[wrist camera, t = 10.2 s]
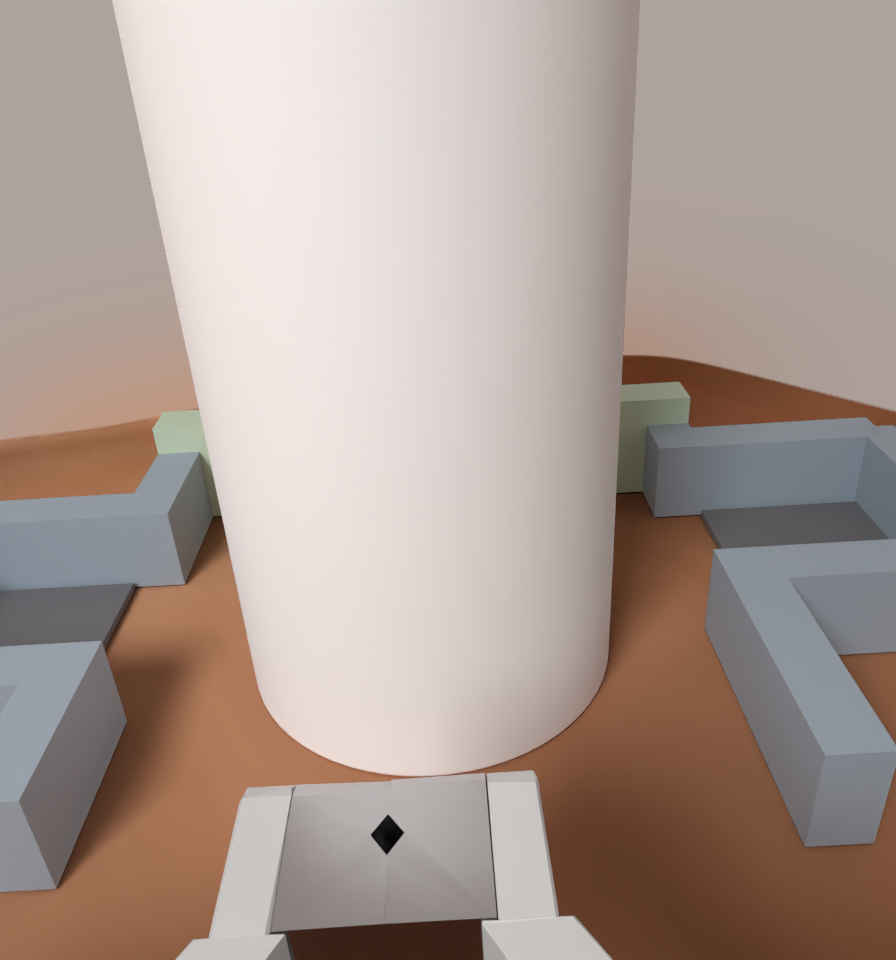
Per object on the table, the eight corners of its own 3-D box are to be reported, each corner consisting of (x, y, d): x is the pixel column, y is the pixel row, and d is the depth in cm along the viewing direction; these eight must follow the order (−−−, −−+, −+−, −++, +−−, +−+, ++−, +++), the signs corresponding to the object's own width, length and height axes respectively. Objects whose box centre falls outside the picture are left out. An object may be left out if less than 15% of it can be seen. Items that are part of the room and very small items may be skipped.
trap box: (-327, 910, 15) (-421, 789, 13) (10, 509, 27) (-20, 422, 25) (1193, 825, 15) (1264, 694, 13) (847, 460, 27) (864, 370, 25)
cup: (288, 551, 24) (167, -152, 16) (582, 539, 24) (601, -181, 16) (217, 785, 17) (-62, -285, 9) (640, 769, 16) (726, -344, 9)
